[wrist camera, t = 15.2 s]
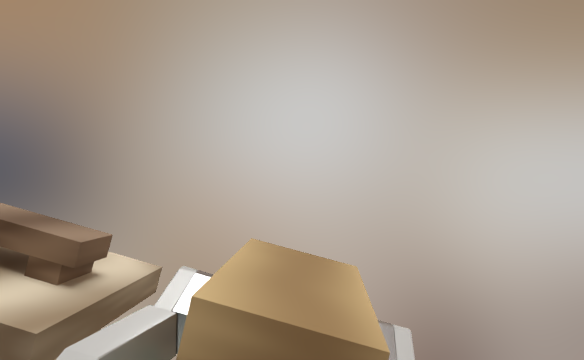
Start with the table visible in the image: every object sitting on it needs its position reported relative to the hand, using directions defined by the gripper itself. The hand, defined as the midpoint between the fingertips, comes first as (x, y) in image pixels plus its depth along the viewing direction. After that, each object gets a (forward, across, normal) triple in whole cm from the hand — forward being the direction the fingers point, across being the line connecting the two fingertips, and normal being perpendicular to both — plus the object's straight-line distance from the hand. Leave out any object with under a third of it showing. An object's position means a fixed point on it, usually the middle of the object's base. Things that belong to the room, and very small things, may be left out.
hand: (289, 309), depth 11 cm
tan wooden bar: (+3, 0, +4) cm, 5 cm away
